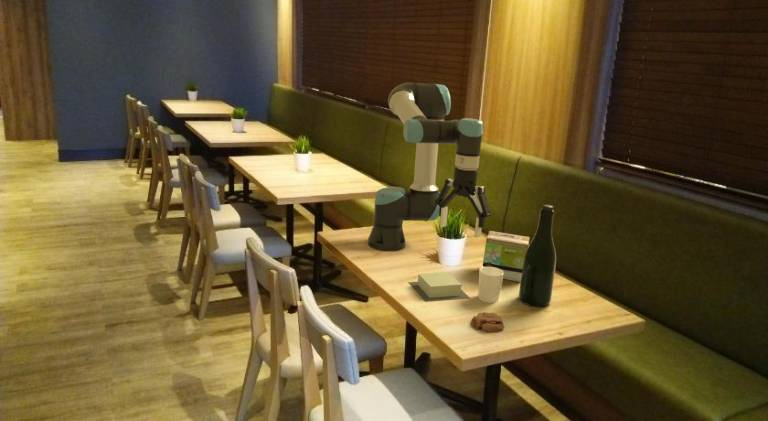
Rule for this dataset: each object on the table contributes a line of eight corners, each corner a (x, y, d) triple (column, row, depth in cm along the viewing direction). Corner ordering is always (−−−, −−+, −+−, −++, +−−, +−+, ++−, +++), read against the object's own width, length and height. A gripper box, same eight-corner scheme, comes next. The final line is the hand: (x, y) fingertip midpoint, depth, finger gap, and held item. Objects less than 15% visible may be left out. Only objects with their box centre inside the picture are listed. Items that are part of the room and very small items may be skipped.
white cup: (499, 305, 198) (503, 277, 195) (475, 302, 199) (478, 273, 196) (500, 296, 205) (504, 268, 202) (476, 292, 207) (480, 265, 204)
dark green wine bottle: (557, 305, 201) (572, 208, 192) (531, 309, 196) (546, 211, 187) (536, 292, 210) (549, 200, 201) (511, 296, 205) (524, 202, 196)
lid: (417, 284, 209) (418, 273, 208) (447, 282, 213) (448, 272, 211) (429, 297, 199) (430, 286, 198) (460, 295, 203) (461, 284, 201)
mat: (408, 283, 211) (408, 282, 211) (450, 280, 216) (450, 279, 216) (425, 302, 196) (425, 301, 196) (470, 299, 201) (470, 298, 201)
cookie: (503, 320, 188) (504, 311, 187) (504, 335, 178) (505, 326, 177) (471, 315, 190) (472, 307, 189) (470, 331, 180) (471, 321, 179)
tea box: (481, 276, 222) (485, 237, 217) (484, 267, 231) (488, 229, 227) (523, 283, 218) (528, 243, 214) (524, 273, 227) (530, 235, 223)
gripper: (428, 162, 200) (422, 224, 205) (494, 176, 184) (486, 243, 190) (441, 160, 205) (435, 220, 211) (506, 173, 190) (498, 238, 196)
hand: (459, 231), depth 200 cm, fingers open, 13 cm apart
